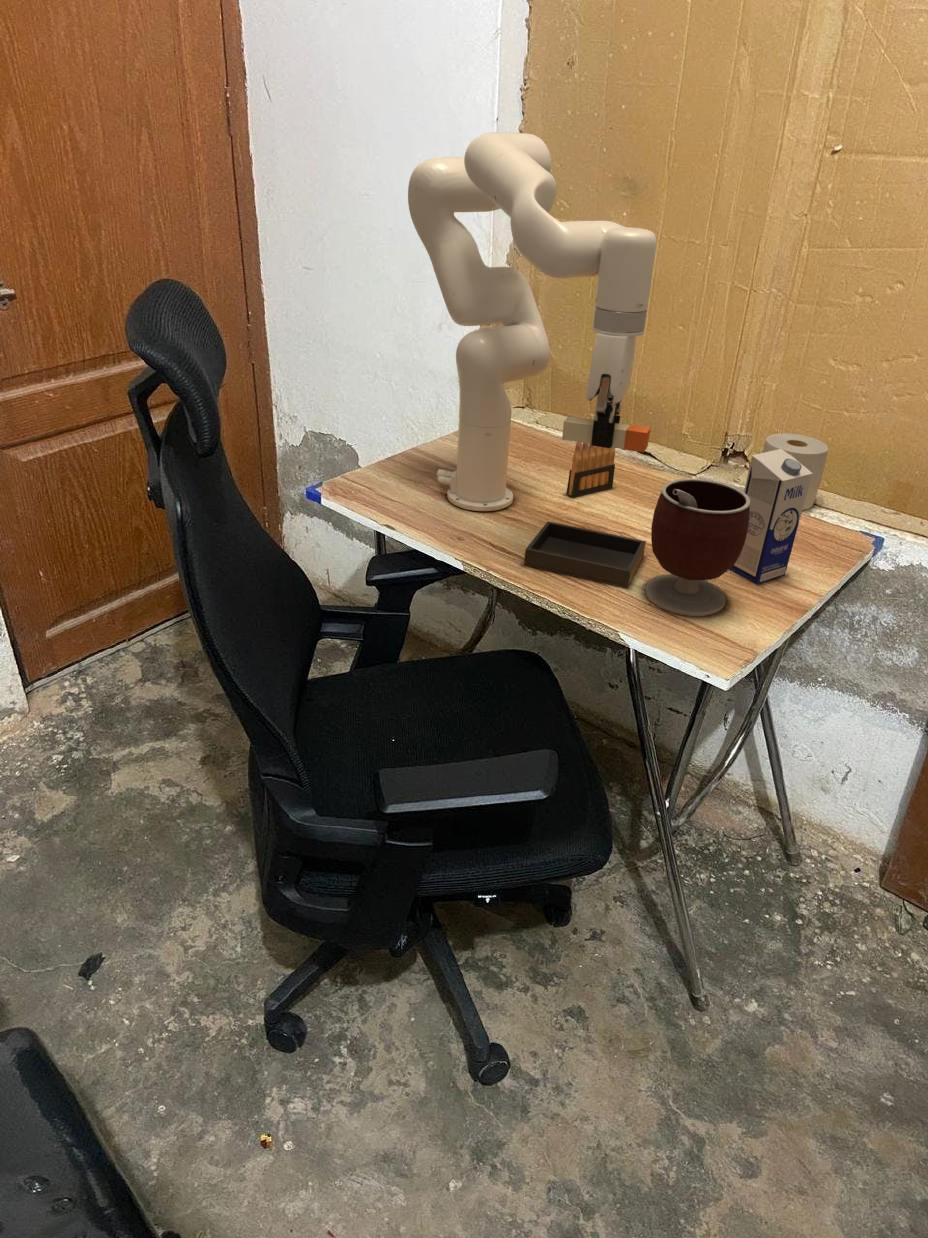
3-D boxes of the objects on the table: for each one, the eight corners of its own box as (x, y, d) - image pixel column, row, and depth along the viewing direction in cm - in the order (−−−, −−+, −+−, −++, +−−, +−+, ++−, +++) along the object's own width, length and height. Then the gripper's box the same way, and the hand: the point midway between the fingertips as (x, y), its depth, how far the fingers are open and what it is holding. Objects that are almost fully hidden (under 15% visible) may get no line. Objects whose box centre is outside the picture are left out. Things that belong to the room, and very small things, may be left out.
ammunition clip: (572, 497, 168) (579, 438, 162) (565, 494, 170) (572, 435, 164) (612, 488, 174) (621, 430, 168) (606, 485, 175) (614, 427, 169)
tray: (523, 565, 143) (525, 548, 141) (545, 536, 153) (547, 520, 151) (627, 588, 137) (630, 571, 136) (643, 556, 147) (646, 541, 146)
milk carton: (754, 558, 149) (781, 447, 139) (785, 575, 144) (816, 460, 134) (725, 567, 145) (751, 453, 135) (756, 584, 141) (786, 468, 130)
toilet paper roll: (783, 484, 180) (797, 430, 174) (827, 506, 171) (843, 449, 165) (739, 491, 175) (751, 436, 169) (782, 514, 166) (797, 457, 160)
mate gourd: (674, 567, 145) (696, 453, 134) (747, 599, 136) (776, 480, 126) (616, 595, 135) (635, 474, 125) (691, 632, 127) (718, 505, 116)
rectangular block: (561, 439, 136) (563, 420, 134) (566, 434, 138) (568, 415, 137) (644, 452, 132) (647, 432, 131) (647, 446, 135) (650, 427, 133)
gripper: (606, 308, 134) (592, 425, 143) (580, 328, 120) (567, 454, 130) (654, 314, 132) (637, 431, 141) (633, 334, 118) (616, 462, 127)
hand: (604, 441), depth 135 cm, fingers closed on rectangular block, 3 cm apart
